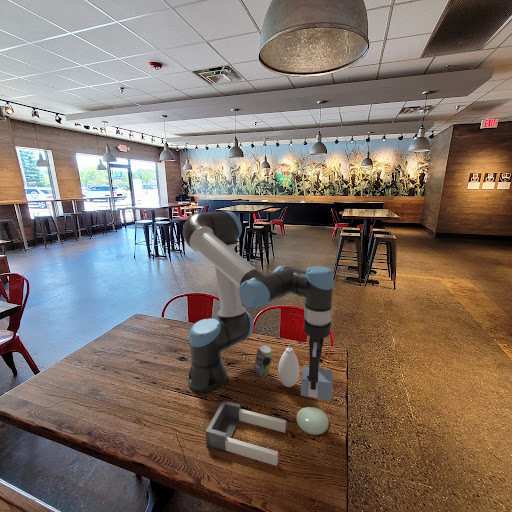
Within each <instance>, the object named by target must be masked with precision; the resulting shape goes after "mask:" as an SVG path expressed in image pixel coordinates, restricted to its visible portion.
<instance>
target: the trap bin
mask: <svg viewBox="0 0 512 512" xmlns="http://www.w3.org/2000/svg"><path fill="white" fill-rule="evenodd" d="M240 409H241V404H240V403H236V402H231V401H227V400H224V399H223V400H222V402H221V404H220V405H219V406H218V409H217V411H216V412H215V414H214V415H213V417H212V420H211V421H210V422H209V425H208V426H207V428H206V430H205V442H206V446H208V447H211V448H213V449H218V450H221V451H226V448H225V440H226V438H227V437H229V438H232V437H233V436H234V433H235V430H236V428H237V426H238V424H239V422H240V421H239V410H240ZM232 439H233V438H232ZM226 452H227V451H226Z"/></svg>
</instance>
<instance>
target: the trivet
mask: <svg viewBox="0 0 512 512" xmlns="http://www.w3.org/2000/svg"><path fill="white" fill-rule="evenodd" d="M329 421H330V420H329V417H328V416H327V414H326V413H325V412H324V411H323V410H321V409H320V408H317V407H313V406H306V407H303V408H301V409H300V410H299V411H298V412H297V414H296V423H297V426H298V427H299V429H301V430H302V432H304V433H306V434H309V435H311V436H320V435H322V434H324V433H326V432H327V431H328V429H329V423H330V422H329Z"/></svg>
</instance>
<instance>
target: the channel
mask: <svg viewBox="0 0 512 512" xmlns="http://www.w3.org/2000/svg"><path fill="white" fill-rule="evenodd" d="M239 422H242V423H247V424H251V425H255V426H259V427H262V428H266V429H270V430H273V431H277V432H282V433H284V434H285V433H286V430H287V420H286V419H283V418H280V417H275V416H270V415H267V414H262V413H260V412H259V413H258V412H255V411H251V410H247V409H243V408H240V410H239ZM225 448H226V452H230V453H233V454H236V455H238V456H239V455H240V456H243V457H246V458H248V459H253V460H255V461H259V462H261V463H266V464H269V465H272V466H276V467H278V464H279V451H276V450H273V449H270V448H267V447H262V446H260V445H256V444H253V443H249V442H245V441H241V440H239V439H236V438H229V437H227V438H226V440H225Z"/></svg>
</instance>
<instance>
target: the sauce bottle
mask: <svg viewBox="0 0 512 512" xmlns="http://www.w3.org/2000/svg"><path fill="white" fill-rule="evenodd" d="M277 375H278V379H279V381H280V382H281V384H282V385H283V386H285V387H287V388H292V387H294V386H295V385H296V384H297V382H298V380H299V377H300V364H299V359H298V356H297V355H296V353H295V352H294V350H293V348H292V347H291V344H290V342H289V343H288V347H286V348H285V351H284V352H283V353H282V355H281V356H280V358H279V362H278V368H277Z"/></svg>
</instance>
